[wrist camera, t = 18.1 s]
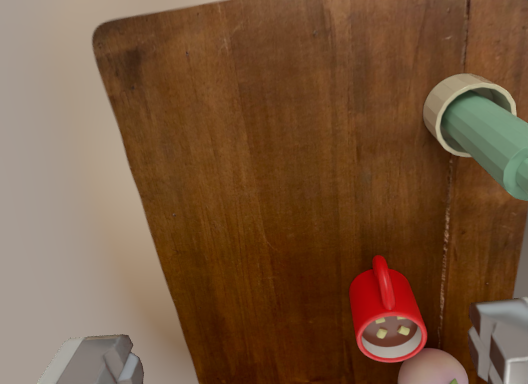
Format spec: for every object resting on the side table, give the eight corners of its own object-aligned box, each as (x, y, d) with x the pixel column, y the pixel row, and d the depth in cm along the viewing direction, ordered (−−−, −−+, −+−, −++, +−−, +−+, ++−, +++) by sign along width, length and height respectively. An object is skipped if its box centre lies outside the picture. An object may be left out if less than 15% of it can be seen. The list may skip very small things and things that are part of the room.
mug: (404, 236, 49) (422, 278, 42) (412, 310, 54) (429, 359, 47) (339, 246, 50) (346, 288, 43) (353, 318, 55) (361, 366, 48)
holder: (421, 80, 41) (434, 91, 37) (497, 67, 39) (519, 76, 35) (423, 145, 44) (435, 162, 40) (493, 135, 42) (513, 150, 38)
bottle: (437, 93, 40) (536, 171, 24) (484, 85, 40) (621, 160, 23) (437, 134, 42) (529, 235, 25) (482, 127, 42) (607, 226, 25)
